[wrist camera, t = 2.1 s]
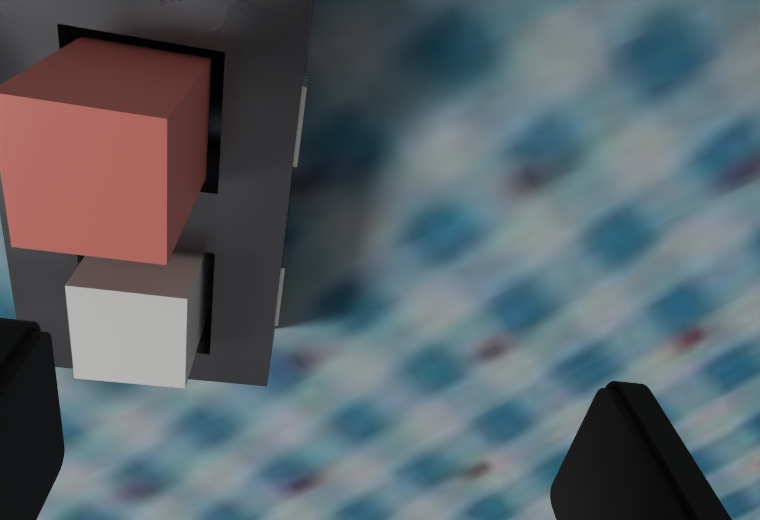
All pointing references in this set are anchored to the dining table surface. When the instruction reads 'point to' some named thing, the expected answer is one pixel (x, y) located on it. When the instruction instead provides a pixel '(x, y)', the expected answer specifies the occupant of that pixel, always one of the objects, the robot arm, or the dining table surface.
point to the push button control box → (224, 167)
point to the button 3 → (138, 317)
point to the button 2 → (104, 149)
